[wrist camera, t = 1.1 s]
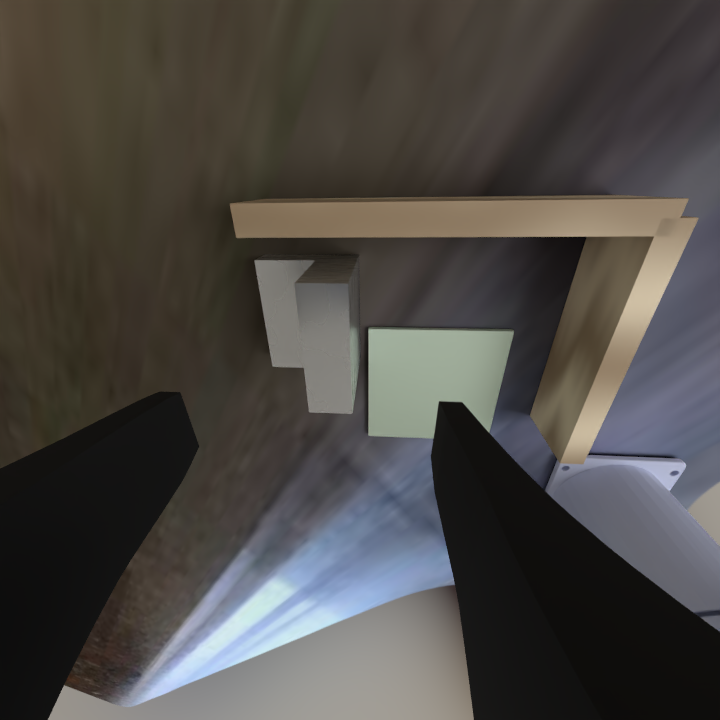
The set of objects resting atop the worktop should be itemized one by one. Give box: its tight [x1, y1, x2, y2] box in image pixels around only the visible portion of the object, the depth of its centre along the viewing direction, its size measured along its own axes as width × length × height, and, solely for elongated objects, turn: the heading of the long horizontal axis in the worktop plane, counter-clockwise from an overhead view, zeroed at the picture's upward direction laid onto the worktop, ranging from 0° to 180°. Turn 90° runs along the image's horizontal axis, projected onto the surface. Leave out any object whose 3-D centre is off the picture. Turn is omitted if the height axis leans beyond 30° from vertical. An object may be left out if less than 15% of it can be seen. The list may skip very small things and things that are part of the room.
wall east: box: [230, 195, 688, 238], centre depth 13 cm, size 1×16×4 cm, turn 91°
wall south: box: [530, 216, 698, 464], centre depth 16 cm, size 12×1×4 cm, turn 1°
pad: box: [368, 327, 514, 438], centre depth 20 cm, size 8×8×1 cm
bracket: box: [254, 255, 361, 414], centre depth 16 cm, size 6×5×6 cm
